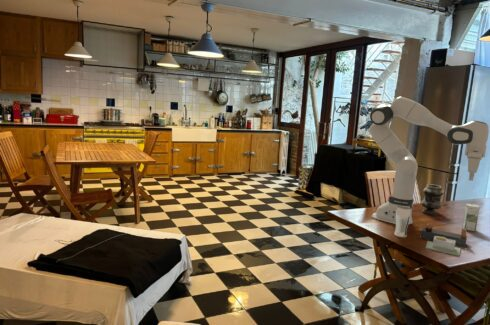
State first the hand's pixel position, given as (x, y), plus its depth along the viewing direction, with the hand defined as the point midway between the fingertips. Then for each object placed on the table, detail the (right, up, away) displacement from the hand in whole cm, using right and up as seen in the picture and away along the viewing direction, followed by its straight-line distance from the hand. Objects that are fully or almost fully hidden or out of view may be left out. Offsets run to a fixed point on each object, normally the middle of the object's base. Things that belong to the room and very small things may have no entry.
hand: (470, 179), depth 187 cm
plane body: (-17, -31, -3) cm, 35 cm away
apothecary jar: (+3, -24, +48) cm, 54 cm away
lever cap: (-22, -32, -15) cm, 42 cm away
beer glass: (-36, -30, +1) cm, 47 cm away
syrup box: (+9, -30, +17) cm, 35 cm away
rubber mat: (-23, -33, -15) cm, 42 cm away
